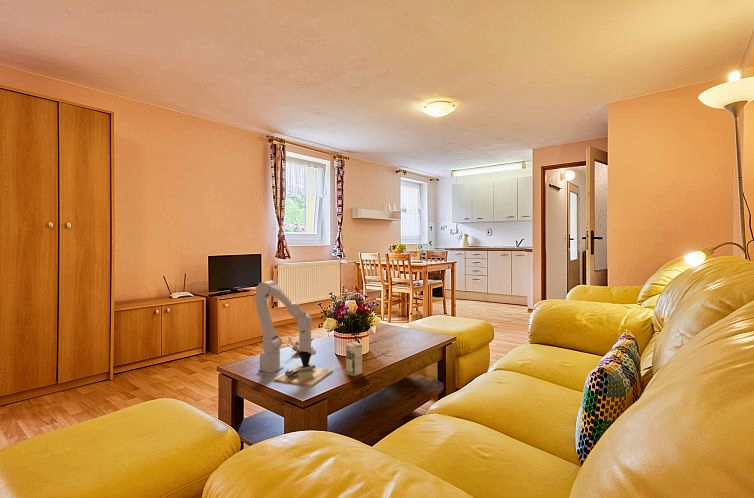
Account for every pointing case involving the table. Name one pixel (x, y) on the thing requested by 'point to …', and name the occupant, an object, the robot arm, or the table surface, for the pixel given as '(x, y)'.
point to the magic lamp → (294, 347)
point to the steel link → (294, 371)
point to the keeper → (305, 372)
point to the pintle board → (317, 376)
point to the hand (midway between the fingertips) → (305, 366)
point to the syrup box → (353, 358)
